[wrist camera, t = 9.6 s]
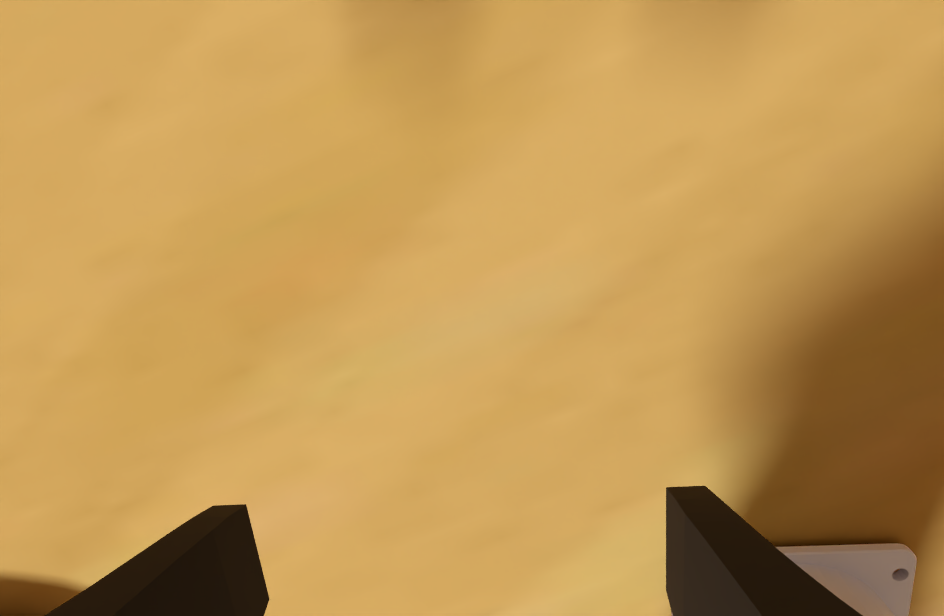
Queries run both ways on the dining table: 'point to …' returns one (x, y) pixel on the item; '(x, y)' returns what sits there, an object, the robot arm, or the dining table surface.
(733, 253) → the dining table surface
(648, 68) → the dining table surface
